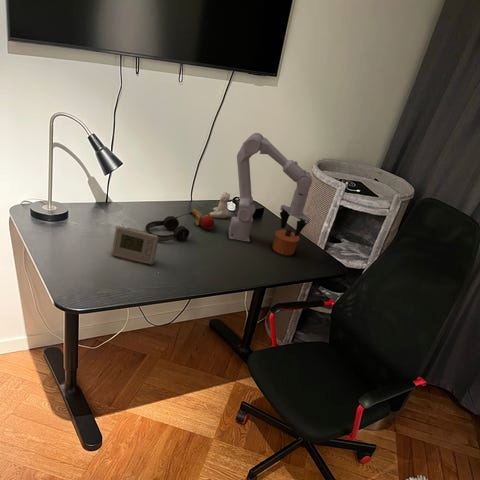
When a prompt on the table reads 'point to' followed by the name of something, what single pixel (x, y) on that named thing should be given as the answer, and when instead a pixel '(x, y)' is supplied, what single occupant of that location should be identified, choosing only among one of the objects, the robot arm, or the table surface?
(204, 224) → the kendama
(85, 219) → the table surface
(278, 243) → the pot
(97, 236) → the table surface
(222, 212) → the seated beast figurine
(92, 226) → the table surface
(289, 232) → the lid
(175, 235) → the headset
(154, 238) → the digital clock
